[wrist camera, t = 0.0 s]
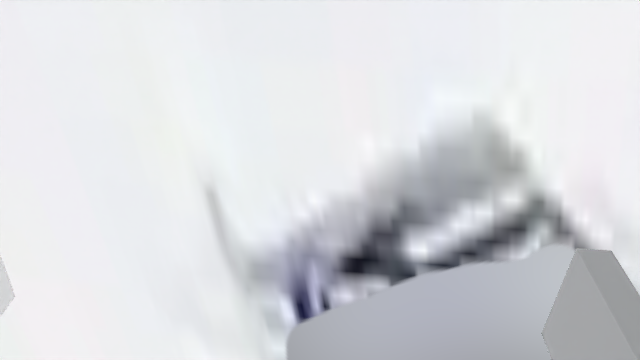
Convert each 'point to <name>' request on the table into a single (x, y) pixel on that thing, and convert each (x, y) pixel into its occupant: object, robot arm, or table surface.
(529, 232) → the table surface
